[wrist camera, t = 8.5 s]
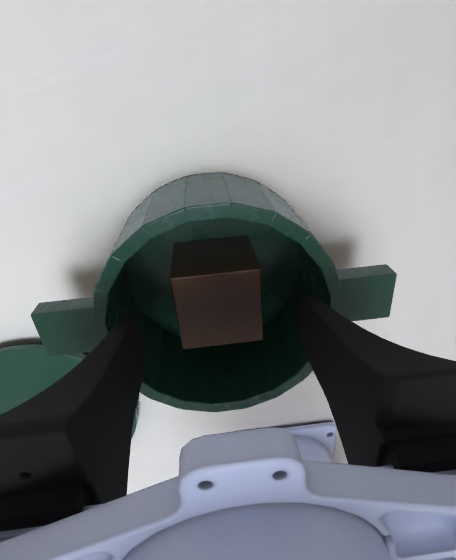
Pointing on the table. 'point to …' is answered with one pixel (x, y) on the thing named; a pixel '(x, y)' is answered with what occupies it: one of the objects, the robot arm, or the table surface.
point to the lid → (32, 373)
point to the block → (217, 292)
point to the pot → (160, 305)
